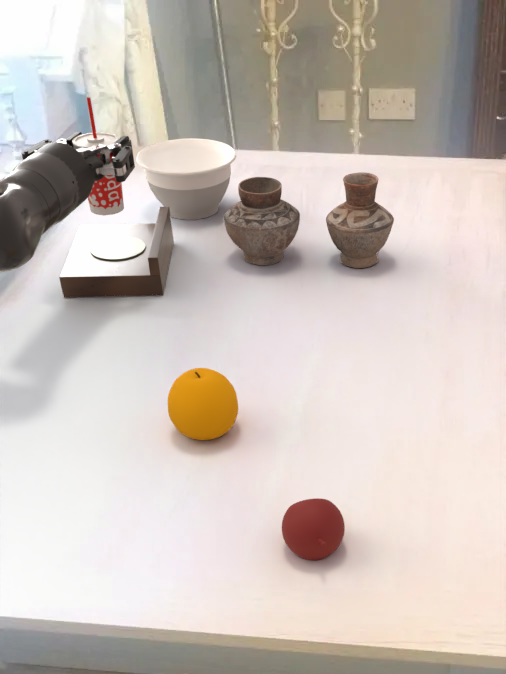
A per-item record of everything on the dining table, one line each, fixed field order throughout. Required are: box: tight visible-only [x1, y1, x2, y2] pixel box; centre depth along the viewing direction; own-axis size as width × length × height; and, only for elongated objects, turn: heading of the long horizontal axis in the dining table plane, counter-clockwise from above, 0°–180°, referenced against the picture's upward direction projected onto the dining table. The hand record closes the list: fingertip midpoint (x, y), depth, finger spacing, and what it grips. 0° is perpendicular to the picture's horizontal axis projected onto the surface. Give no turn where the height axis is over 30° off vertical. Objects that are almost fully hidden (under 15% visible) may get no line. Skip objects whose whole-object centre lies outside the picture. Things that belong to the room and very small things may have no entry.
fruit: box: [281, 497, 346, 561], centre depth 86 cm, size 6×6×8 cm
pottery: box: [223, 171, 395, 269], centre depth 131 cm, size 11×25×12 cm, turn 86°
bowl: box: [135, 137, 237, 221], centre depth 146 cm, size 16×16×9 cm
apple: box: [167, 367, 239, 441], centre depth 101 cm, size 8×8×8 cm
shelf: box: [58, 206, 175, 298], centre depth 131 cm, size 14×18×6 cm
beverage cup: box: [72, 96, 125, 216], centre depth 120 cm, size 6×6×14 cm
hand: (103, 141), depth 121 cm, fingers closed on beverage cup, 6 cm apart
